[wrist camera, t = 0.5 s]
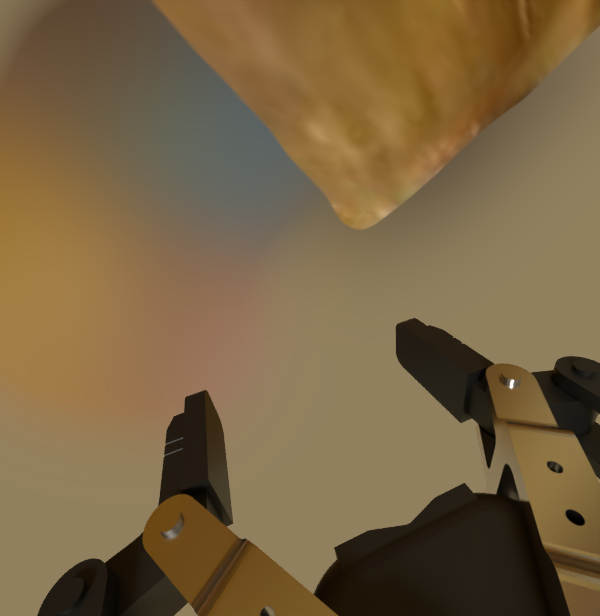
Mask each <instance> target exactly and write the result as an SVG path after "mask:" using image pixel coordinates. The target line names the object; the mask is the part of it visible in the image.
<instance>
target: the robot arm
mask: <svg viewBox="0 0 600 616" xmlns="http://www.w3.org/2000/svg"><path fill="white" fill-rule="evenodd" d="M396 355H397V358H398V360H399V362H400V364H401V365H402V366H403V368H405V369H406V370H407V371H408V372H409V373H410V374H411V375H412V376H413V377H414V378H415V379H416V380H417V381H418V382H419V383H420V384H421V385H422V386H423V387H424V388H425V389H426V390H427V391H428V392H429V393H430V394H431V395H432V396H433V397H434V398H436V400H437V401H439V402H440V403H441V404H442V405H443V406H444V407H445V408H446V409H447V410H448V411H449V412H450V413H451V414H452V415H453V416H454V417H455V418H456V419H457V420H458V421H459V422H460V423H462V422H465V421H467V420H469V419H471V418H472V419H474V420H475V421H476V422H477V424H476V432H477V437H478V442H479V448H480V452H481V458H482V463H483V468H484V474H485V493H473V492H472V491H471V490H470V489H469V487H468V486H467V485H466V484H465V483H463V484H462V485H459V486H458V487H455V488H453V489H451V490H449V491H447V492H445V493H443V494H441V495H439V496H437V497H435V498H434V499H433V500H432V501H431V502H430V503H429V504H428V505H427V506H426V508H425V509H424V510H423V511H422V512H421V513H420V514H419V515H418V516H417V517H416V518H415V519H414V520H413V521H412V522H411V523H409V524H407V525H402V526H396V527H389V528H382V529H375V530H369V531H367V532H365V533H363V534H361V535H359V536H357V537H355V538H353V539H351V540H349V541H347V542H344V543H343V544H341V545H338V546H337V547H335V548H334V549H335V552H336V557H337V560H336V561H335V562H334V563H333V564H332V565H331V566H330V567H329V569H328V570H327V571H326V573H325V574H324V575H323V577H322V579H321V580H320V582H319V584H318V585H317V588H316V590H315V592H314V594H312V593H311V592H310V591H309V590H307V589H306V588H305V587H304V586H303V585H302V584H300V583H299V582H298V581H297V580H295V578H293V577H292V576H291V575H290V574H289V573H287V572H286V571H285V570H284V569H283V568H282V567H280V566H279V565H278V564H277V563H276V562H275V561H273V560H272V559H271V558H270V557H269V556H267V555H266V554H265V553H264V552H263V551H262V550H260V549H259V548H258V547H257V546H256V545H254V544H253V543H252V542H250V541H249V540H247V539H243V540H242V539H240V538H239V537H238V536H237V535H235V534H234V533H233V532H232V531H231V530H230V529H228V528H227V527H226V526H229V525H231V524H233V518H232V509H231V499H230V490H229V480H228V471H227V461H226V453H225V442H224V433H223V428H222V424H221V421H220V418H219V416H218V413H217V411H216V409H215V407H214V405H213V402H212V400H211V398H210V396H209V393H208V392H207V390H204V391H201V392H199V393H196V394H193V395H190V396H187V397H186V398H185V409H184V413H182V414H179V415H176V416H174V417H173V419H172V421H171V423H170V425H169V427H168V429H167V434H166V446H165V453H164V455H165V457H164V461H163V471H162V480H161V489H160V498H159V505H158V507H157V508H156V509H155V510H154V512H153V513H152V514H151V516H150V517H149V519H148V521H147V523H146V525H145V528H144V531H143V533H142V534H141V535H140V536H139V537H138V538H136V539H135V540H134V541H133V542H132V543H130V544H129V545H128V546H127V547H125V548H124V549H122V550H121V551H120V552H119V553H117V554H116V555H115V556H113V557H112V558H111V559H109V560H108V561H107V562H105V563H104V562H103V561H101V560H100V559H88V560H85V561H82V562H80V563H79V564H77V565H75V566H74V567H73V568H71V569H70V570H68V571H67V572H66V573H65V574H64V575H63V576H62V577H61V578H60V579H59V580H58V582H56V584H55V585H54V586H53V587H52V589H51V590H50V591H49V593H48V594H47V596H46V598H45V600H44V601H43V604H42V605H41V608H40V610H39V613H38V615H37V616H174V615H175V614H176V613H177V612H178V611H179V610H181V608H183V607H184V606H185V605H186V604H187V603H189V604H190V605H191V606H192V608H193V609H194V610H195V612H196V614H197V615H198V616H600V483H599V481H598V479H597V477H598V478H599V479H600V425H599V424H598V423H596V422H595V420H596V418H597V416H598V414H600V363H598V362H596V361H593V360H590V359H586V358H583V357H575V356H569V357H563V358H560V359H558V360H557V361H556V364H555V367H554V370H552V371H541V372H532V373H530V372H528V371H527V370H525V369H523V368H521V367H518V366H515V365H511V364H494V363H492V362H491V361H489V360H488V359H486V358H485V357H483V356H482V355H480V354H479V353H477V352H476V351H474V350H473V349H471V348H470V347H468V346H467V345H465V344H462V343H461V341H459V340H458V339H456V338H453V336H452V335H450V334H448V333H447V332H446V331H444V330H442V329H439V328H436V327H433V326H430V325H429V326H426V325H425V324H424V323H422V322H421V321H419V320H418V319H416V318H413V319H410V320H407V321H404V322H401V323H399V324H397V326H396ZM596 476H597V477H596Z"/></svg>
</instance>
